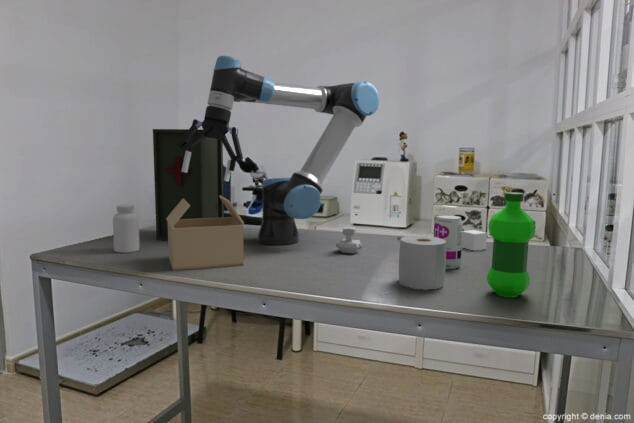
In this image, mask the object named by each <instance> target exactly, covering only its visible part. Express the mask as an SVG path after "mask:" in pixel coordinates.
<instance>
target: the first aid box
mask: <svg viewBox="0 0 634 423" xmlns="http://www.w3.org/2000/svg"><path fill="white" fill-rule="evenodd" d="M189 129H190V128H186V129H185V128H183V129H181V128H180V129H178V128H173V129H172V128H171V129H170V128H152V142H153V144H152V146H153V148H152V149H153V169H154V170H153V173H154V174H153V175H154V176H153V177H154V178H153V180H154V205H155V206H154V207H155V208H154V210H155V234H156V238H155V239H156V240H157V241H168V221H167V220H166V218H167V217H168V216H169V214H170V213H171V212H172V211H173V210H174V208H175V207H176V206H177V205H178V204H179V202H180V201H181V200H182V199H184V200H185V201H186V202H187V203H188V204H189V205H190V207H189V208H188V209H187V211H186V212H185V213H184V214H183V215H182V217H181V218H180V219H200V218H223V217H225V216H224V215H225V214H224V213H225V212H224V209H225V208H224V206H225V205H224V203H223V202H222V200H221V199H220V197H219V196H220V195H221V196H222V197H224V155H223V154H224V145H223V143H222V141H221V140H220V139H219V140H218V139H215V138H209V137H206V138H204V139H203V140H201V141H200V142H199V143H198V144H196V145H195V146H194V147H193V148H192V149H190V150H189V152H191V157H190V162H189V167H188V171H187V173H185V172H181V171H182V166H183V162H184V161H182V160H181V158H182V153H183V149H182V148H180V147H178V143H179V142H180V141H181V139H182V138H183V137H184V135H185V134H186V133H187V131H188V130H189ZM202 130H203V129H202V128H201V129H200V128H198V129H197V131H196V132H195V134H194V135H193V136H192V138H191V139H190V140H189V142H190V141H191V140H192V139H193V138H195V137H196V136H197V135H198V134H199V133H200V132H201V131H202ZM189 142H188V143H189Z"/></svg>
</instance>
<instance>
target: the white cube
mask: <svg viewBox="0 0 634 423" xmlns="http://www.w3.org/2000/svg"><path fill="white" fill-rule="evenodd" d="M487 239H488V233H487V232H484V231H481V230H476V229H472V230H470V229H469V230H462V247H464V248H467V249H470V250H469V251H471V250H479V251H483V250H482V249H486V250H487V243H488V242H487ZM467 249H466V250H467Z"/></svg>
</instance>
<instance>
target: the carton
mask: <svg viewBox="0 0 634 423" xmlns="http://www.w3.org/2000/svg"><path fill="white" fill-rule="evenodd" d="M167 242H168V243H167V244H168V245H167V246H168V247H167V248H168V249H167V250H168V259H169V262H170V265H171V268H172V270H173V271H175V272H177V271H185V270H201V269H210V268H211V269H214V268H223V267H224V268H225V267H237V266H244V265H245V264H244V224H241V223H240V222H239V221H237V220H236V219H235V218H233V217H232V216H228V217H227V216H226V217H225V216H224V217H223V218H200V219H179V220H178V222H177V223H176V224H175V225H174V226H173V228H171V227H170V225H169V223H168V240H167Z"/></svg>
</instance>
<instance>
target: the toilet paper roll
mask: <svg viewBox="0 0 634 423" xmlns="http://www.w3.org/2000/svg"><path fill="white" fill-rule="evenodd" d="M398 252H399V254H398V283H399V285H401V286H402V285H403V287H405V286H406V287H405V288H408V287H410V288H409V289H412V288H414V289H413V290H419V289H423V290H424V291H429V290H428V289H434V290H438V289H437V288H439V289H441V287H442V288H443V287H444V286H445V277H446V269H445V268H446V241H445V240H444V239H441V238H436V237H434V236H429V235H427V236H426V235H408V236H403V237H401V238H400V240H399V251H398ZM423 290H422V291H423Z"/></svg>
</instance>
